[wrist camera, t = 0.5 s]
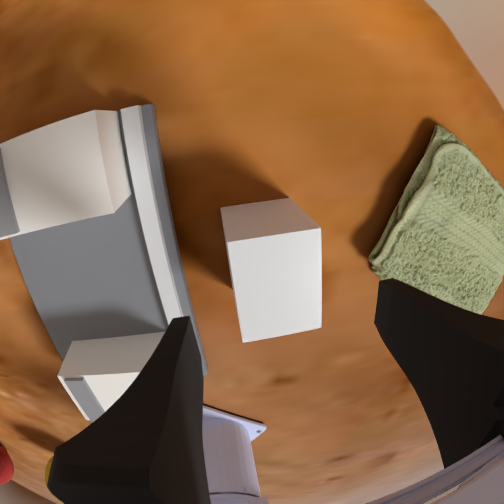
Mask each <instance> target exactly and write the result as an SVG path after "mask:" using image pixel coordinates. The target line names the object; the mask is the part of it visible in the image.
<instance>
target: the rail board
mask: <svg viewBox="0 0 504 504" xmlns="http://www.w3.org/2000/svg"><path fill="white" fill-rule="evenodd" d="M6 238H9V239H10V242H11V245H12V248H13V251H14V254H15V256H16V259H17V262H18V265H19V267H20V270H21V273H22V275H23V278H24V280H25V283H26V285H27V288H28V290H29V293H30V295H31V297H32V300H33V302H34V304H35V306H36V309H37V311H38V313H39V315H40V317H41V320H42V322H43V324H44V326H45V328H46V330H47V332H48V334H49V336H50V338H51V340H52V342H53V344H54V346H55V347H56V349H57V351H58V353H59V355H60V357H61V359H62V360H63V363H62V366H61V368H60V370H59V373H58V375H57V377H58V378H59V380H60V382H61V383H62V385H63V386H64V388H65V389H66V391H67V392H68V394H69V395H70V397H71V398H72V400H73V401H74V403H75V404H76V406H77V407H78V409H79V410H80V412H81V413H82V414H83V416H84V417H85V419H86V420H90V421H91V422H94V421H95V420H96V419H98V418H99V417H100V416H101V415H102V414H103V413H105V412H106V411H107V410H108V409H109V408H110V407H111V406H112V405H113V404H114V403H115V402H116V401H117V400H118V399H119V398H120V397H121V396H122V394H123V393H124V392H125V391H126V390H127V389H128V387H129V386H130V385H131V384H132V382H133V381H134V380H135V379H136V377H137V376H138V374H139V373H140V372H141V370H142V369H143V367H144V366H145V364H146V363H147V361H148V360H149V358H150V357H151V355H152V354H153V352H154V350H155V349H156V347H157V345H158V344H159V342H160V340H161V338H162V337H163V335H164V333H165V331H166V329H167V328H168V326H169V324H170V322H171V320H172V319H173V318H177V317H184V316H190V318H191V322H192V326H193V329H194V333H195V337H196V340H197V344H198V347H199V351H200V354H201V359H202V369H203V376H208V365H207V361H206V357H205V354H204V350H203V346H202V343H201V339H200V335H199V331H198V327H197V323H196V319H195V315H194V311H193V307H192V303H191V299H190V295H189V291H188V286H187V282H186V278H185V273H184V269H183V264H182V260H181V255H180V251H179V246H178V241H177V236H176V231H175V226H174V221H173V216H172V211H171V206H170V201H169V195H168V190H167V184H166V178H165V173H164V167H163V161H162V155H161V148H160V142H159V135H158V128H157V121H156V114H155V107H154V104H146V105H142V106H140V105H136V106H132V107H128V108H123V109H121V110H120V111H107V110H93V111H89V112H86V113H82V114H79V115H76V116H73V117H70V118H67V119H63V120H60V121H58V122H55V123H52V124H49V125H46V126H43V127H41V128H38V129H35V130H33V131H30V132H28V133H25V134H22V135H20V136H18V137H15V138H13V139H10V140H8V141H6V142H3V143H1V144H0V240H2V239H6Z"/></svg>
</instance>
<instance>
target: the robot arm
mask: <svg viewBox="0 0 504 504" xmlns="http://www.w3.org/2000/svg"><path fill="white" fill-rule="evenodd" d="M374 323H375V325H376V327H377V330H378V332H379V334H380V336H381V338H382V340H383V342H384V343H385V345H386V346H387V348H388V349H389V351H390V352H391V354H392V355H393V357H394V358H395V360H396V361H397V363H398V364H399V366H400V367H401V369H402V370H403V372H404V373H405V375H406V376H407V378H408V379H409V381H410V382H411V384H412V385H413V387H414V389H415V391H416V393H417V395H418V397H419V399H420V401H421V403H422V405H423V407H424V410H425V412H426V414H427V417H428V419H429V421H430V424H431V426H432V429H433V432H434V435H435V438H436V441H437V444H438V447H439V450H440V454H441V457H442V461H443V465H444V469H443V470H442V471H440V472H438V473H436V474H434V475H432V476H430V477H428V478H426V479H424V480H422V481H419V482H417V483H415V484H413V485H411V486H409V487H406V488H404V489H402V490H399V491H397V492H395V493H392V494H390V495H387V496H385V497H382V498H379V499H377V500H374V501H371V502H369V503H366V504H423V503H425V502H427V501H429V500H431V499H433V498H435V497H437V496H439V495H441V494H442V493H444V492H446V491H448V490H450V489H451V488H453V487H455V486H456V485H458V484H460V483H461V484H460V485H459V487H458V488H457V490H455V491H453V492H452V493H450V494H448V495H446V496H444V497H442V498H441V499H439V500H437V501H435V502H433V503H431V504H504V320H501V319H496V318H492V317H488V316H484V315H481V314H478V313H474V312H471V311H468V310H465V309H463V308H460V307H457V306H455V305H453V304H450V303H448V302H445V301H443V300H441V299H439V298H436V297H434V296H432V295H430V294H428V293H426V292H423V291H421V290H419V289H417V288H415V287H413V286H411V285H409V284H406V283H404V282H402V281H399V280H397V279H394V278H390V279H386V280H381V281H379V289H378V298H377V306H376V314H375V321H374ZM265 430H266V425H265V424H262V423H258V422H254V421H251V420H248V419H244V418H241V417H238V416H234V415H231V414H228V413H225V412H222V411H219V410H216V409H213V408H210V407H207V406H204V405H203V369H202V359H201V354H200V351H199V347H198V344H197V340H196V337H195V333H194V329H193V326H192V322H191V318H190V316H184V317H177V318H173V319H172V320H171V322H170V324H169V326H168V328H167V329H166V331H165V333H164V335H163V337H162V338H161V340H160V342H159V344H158V345H157V347H156V349H155V350H154V352H153V354H152V355H151V357H150V358H149V360H148V361H147V363H146V364H145V366H144V367H143V369H142V370H141V372H140V373H139V374H138V376H137V377H136V379H135V380H134V381H133V382H132V384H131V385H130V386H129V387H128V389H127V390H126V391H125V392H124V393H123V394H122V396H121V397H120V398H119V399H118V400H117V401H116V402H115V403H114V404H113V405H112V406H111V407H110V408H109V409H108V410H107V411H106V412H105V413H103V414H102V415H101V416H100V417H99V418H98V419H96V420H95V421H94V422H93V423H92V424H90V425H89V426H88V427H87V428H85V429H84V430H83V431H81V432H80V433H79V434H77V435H76V436H74V437H73V438H71V439H70V440H68V441H66V442H65V443H63V444H62V445H60V446H59V447H57V448H56V450H55V453H54V456H53V460H52V464H51V468H50V473H49V477H48V482H47V487H48V489H49V490H50V492H51V493H52V494H53V495H54V496H55V497H56V498H57V499H59V500H60V501H62V502H63V503H64V504H268V499H267V497H261V494H260V489H259V484H258V479H257V473H256V468H255V463H254V458H253V452H252V447H251V441H252V440H254V439H255V438H256V437H257V436H259V435H260V434H261V433H262V432H263V431H265ZM463 481H464V482H463Z"/></svg>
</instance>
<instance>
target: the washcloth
mask: <svg viewBox="0 0 504 504" xmlns="http://www.w3.org/2000/svg"><path fill="white" fill-rule="evenodd" d="M431 137H432V138H431V140H430V143H429V145H428V147H427V150H426V152H425V155H424V157H423V158H422V160H421V161H420V163H419V165H418V166H417V168H416V170H415V172H414V174H413V175H412V177H411V179H410V181H409V183H408V184H407V186H406V187H405V189H404V193H403V195H402V196H401V198H400V200H399V202H398V204H397V206H396V208H395V210H394V211H393V213H392V215H391V217H390V219H389V221H388V223H387V226H386V228H385V230H384V232H383V234H382V236H381V238H380V240H379V241H378V243H377V245H376V246H375V248H374V249H373V250H372V252H371V253H370V255H369V261H370V262H371V263H372V264H373V266H371V267H372V271H373V273H375V274H377V276H379V278H380V279H381V280H386V279H390V278H394V279H397V280H399V281H402V282H404V283H406V284H409V285H411V286H413V287H415V288H417V289H419V290H421V291H423V292H426V293H428V294H430V295H432V296H434V297H436V298H439V299H441V300H443V301H445V302H448V303H450V304H453V305H455V306H457V307H460V308H463V309H465V310H468V311H471V312H474V313H478V314H482V312H483V311H484V310H485V309H486V307H487V306H488V304H489V302H490V300H491V298H493V296H494V292H496V290H497V288H498V286H499V284H500V283H501V282H502V280H503V277H502V276H503V274H504V188H503V187H502V186H501V185H500V183H499V182H498V180H496V178H495V177H493V176H492V175H491V174H490V172H489V170H486V168H485V167H484V166H483V164H482V163H481V162H480V159H479V158H478V157H477V156H476V155H474V154H473V152H472V150H470V149H469V148H468V147H467V146H466V145H465V144H464V143H463V142H460V141H459V140H458V139H457V138H456V136H454V135H453V134H452V133H451V132H448V131H447V130H446V129H445V128H443V127H441V126H439V125H435V128H434V132H433V135H432V136H431Z"/></svg>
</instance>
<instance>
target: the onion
mask: <svg viewBox="0 0 504 504" xmlns="http://www.w3.org/2000/svg"><path fill="white" fill-rule="evenodd" d="M13 474H14V466H13V462H12V460H11V458H10V456H9V455H8V453H7V450H6V448H5V447H4V446H0V484H4V483H6V482H8V481H10V480H11V479H12V477H13Z"/></svg>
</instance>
